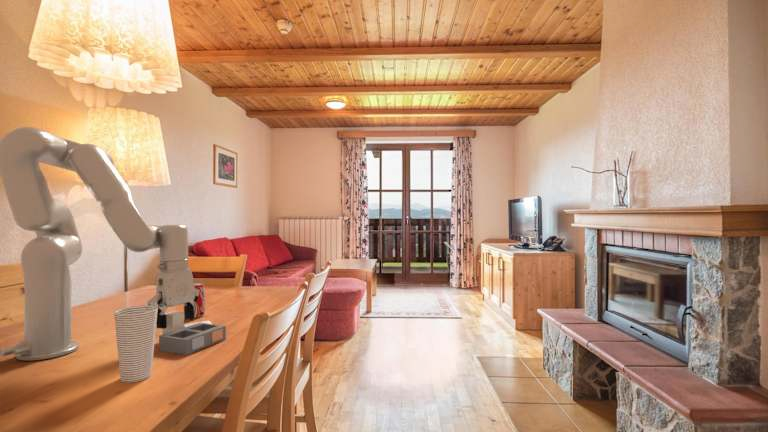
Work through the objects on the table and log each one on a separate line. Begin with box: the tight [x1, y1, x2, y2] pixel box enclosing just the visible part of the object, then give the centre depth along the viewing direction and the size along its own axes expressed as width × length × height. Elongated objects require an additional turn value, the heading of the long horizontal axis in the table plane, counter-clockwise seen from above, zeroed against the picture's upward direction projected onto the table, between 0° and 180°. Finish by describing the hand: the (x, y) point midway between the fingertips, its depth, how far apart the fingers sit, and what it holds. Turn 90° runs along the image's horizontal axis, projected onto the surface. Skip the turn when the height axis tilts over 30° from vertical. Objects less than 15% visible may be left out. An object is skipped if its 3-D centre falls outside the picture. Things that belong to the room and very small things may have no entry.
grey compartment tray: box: [158, 323, 227, 356], centre depth 111 cm, size 14×10×4 cm
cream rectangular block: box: [162, 310, 185, 335], centre depth 115 cm, size 4×4×8 cm
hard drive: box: [184, 320, 213, 328], centre depth 126 cm, size 2×8×12 cm
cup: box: [113, 304, 158, 383], centre depth 88 cm, size 8×8×16 cm
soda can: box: [183, 282, 206, 319], centre depth 142 cm, size 7×7×12 cm
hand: (176, 323), depth 115 cm, fingers open, 9 cm apart
